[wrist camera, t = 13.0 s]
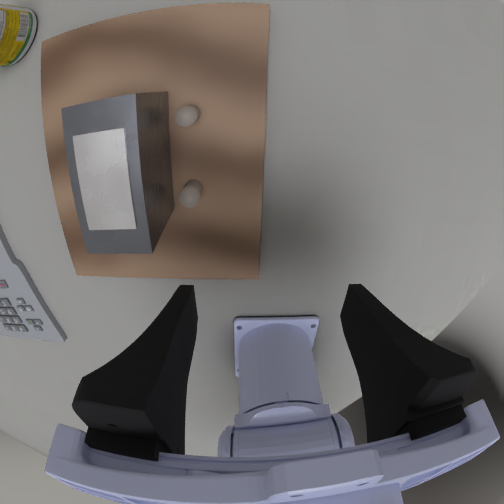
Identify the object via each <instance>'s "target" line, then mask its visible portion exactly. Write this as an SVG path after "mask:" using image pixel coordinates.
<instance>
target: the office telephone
mask: <svg viewBox="0 0 504 504" xmlns="http://www.w3.org/2000/svg"><path fill="white" fill-rule="evenodd" d="M0 335H1V336H9V337H18V338H28V339H39V340H44V341H53V342H65V340H66V338H67V336H66V334H65V332H64V331H63V329H62V328H61V326H60V325H59V323H58V322H57V320H56V319H55V317H54V315H53V314H52V312H51V311H50V309H49V308H48V306H47V304H46V303H45V301H44V299H43V298H42V296H41V294H40V292H39V291H38V289H37V287H36V285H35V284H34V282H33V280H32V278H31V276H30V274H29V273H28V271H27V269H26V268H25V266H24V264H23V263H22V262H21V261H20V260H18V259H16V257H15V255H14V253H13V251H12V249H11V247H10V245H9V243H8V241H7V239H6V237H5V234H4V232H3V230H2V227H1V225H0Z"/></svg>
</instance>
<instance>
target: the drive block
mask: <svg viewBox="0 0 504 504" xmlns="http://www.w3.org/2000/svg"><path fill="white" fill-rule="evenodd" d="M61 111H62V123H63V133H64V142H65V149H66V157H67V163H68V170H69V176H70V181H71V187H72V192H73V197H74V202H75V206H76V211H77V215H78V219H79V224H80V228H81V232H82V236H83V239H84V243H85V247H86V250H87V254H153V252H154V250H155V247H156V245H157V243H158V241H159V239H160V237H161V235H162V233H163V231H164V228H165V226H166V224H167V222H168V220H169V218H170V216H171V214H172V212H173V210H174V208H175V204H174V193H173V180H172V166H171V150H170V130H169V98H168V91H163V92H148V93H136V94H129V95H123V96H117V97H111V98H106V99H100V100H95V101H91V102H86V103H82V104H77V105H73V106H69V107H65V108H61Z"/></svg>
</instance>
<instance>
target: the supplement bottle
mask: <svg viewBox="0 0 504 504" xmlns="http://www.w3.org/2000/svg"><path fill="white" fill-rule="evenodd" d="M36 26H37V22H36V16H35V14H34V13H33V11H31V10H30V9H27V8H23V7H16V6H9V5H2V4H0V67H6V66H10V65H13V64H15V63H16V62H17V61H19V60H20V59H21V58H22V57H23V56H24V54H25V53H26V52H27V50H28V49H29V47H30V45H31V43H32V41H33V39H34V36H35V32H36Z"/></svg>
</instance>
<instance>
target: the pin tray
mask: <svg viewBox="0 0 504 504" xmlns="http://www.w3.org/2000/svg"><path fill="white" fill-rule="evenodd" d="M268 37H269V4H254V3H219V4H200V5H187V6H178V7H170V8H162V9H156V10H150V11H144V12H139V13H134V14H129V15H124V16H120V17H116V18H112V19H108V20H104V21H100V22H97V23H93V24H90V25H87V26H83V27H80V28H77V29H74V30H71V31H68V32H66V33H63V34H60V35H57V36H55V37H52V38H50V39H47V40H45V41H43V42H42V50H41V94H42V111H43V123H44V133H45V141H46V149H47V156H48V162H49V168H50V174H51V180H52V185H53V190H54V195H55V199H56V204H57V208H58V212H59V216H60V220H61V224H62V228H63V232H64V235H65V239H66V242H67V246H68V249H69V252H70V255H71V259H72V262H73V265H74V268H75V271H76V274H77V275H82V276H107V277H137V278H181V279H259V258H260V237H261V216H262V194H263V171H264V147H265V121H266V95H267V67H268ZM163 91H168V98H169V130H170V150H171V166H172V180H173V193H174V204H175V208H174V210H173V212H172V214H171V216H170V218H169V220H168V222H167V224H166V226H165V228H164V231H163V233H162V235H161V237H160V239H159V241H158V243H157V245H156V247H155V250H154V252H153V254H87V250H86V247H85V243H84V239H83V236H82V232H81V228H80V224H79V219H78V215H77V211H76V206H75V202H74V197H73V192H72V187H71V181H70V176H69V170H68V163H67V157H66V149H65V142H64V133H63V123H62V111H61V108H65V107H69V106H73V105H77V104H82V103H86V102H91V101H95V100H100V99H106V98H111V97H117V96H123V95H129V94H136V93H148V92H163Z"/></svg>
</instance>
